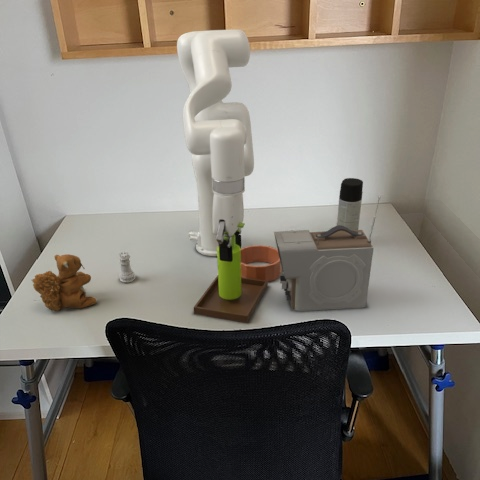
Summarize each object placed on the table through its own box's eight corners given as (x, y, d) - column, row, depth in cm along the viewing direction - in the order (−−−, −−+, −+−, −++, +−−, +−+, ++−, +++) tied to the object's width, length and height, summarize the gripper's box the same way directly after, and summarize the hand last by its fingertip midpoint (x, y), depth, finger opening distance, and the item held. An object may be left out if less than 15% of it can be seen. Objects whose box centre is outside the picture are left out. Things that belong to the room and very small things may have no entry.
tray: (194, 313, 136) (193, 307, 134) (219, 279, 150) (218, 273, 149) (247, 322, 132) (247, 316, 130) (267, 287, 146) (267, 280, 145)
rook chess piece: (122, 284, 149) (118, 259, 144) (117, 278, 152) (113, 252, 147) (137, 280, 150) (134, 255, 146) (132, 274, 154) (128, 249, 149)
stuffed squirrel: (100, 303, 141) (91, 258, 133) (46, 320, 134) (34, 274, 127) (87, 287, 148) (78, 244, 140) (35, 303, 141) (23, 258, 134)
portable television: (272, 291, 144) (274, 182, 127) (359, 286, 145) (372, 178, 129) (278, 315, 134) (281, 201, 117) (371, 310, 135) (387, 196, 119)
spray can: (359, 241, 169) (366, 179, 158) (353, 249, 164) (360, 186, 153) (338, 237, 171) (344, 176, 160) (332, 246, 166) (337, 183, 155)
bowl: (228, 279, 150) (228, 263, 147) (243, 258, 161) (243, 242, 158) (274, 285, 146) (275, 269, 144) (286, 263, 157) (287, 248, 154)
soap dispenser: (242, 300, 137) (241, 228, 126) (216, 298, 138) (213, 226, 127) (247, 289, 142) (246, 218, 131) (221, 287, 143) (218, 216, 132)
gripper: (225, 171, 131) (228, 238, 141) (199, 196, 118) (203, 268, 128) (255, 174, 129) (255, 242, 139) (231, 199, 116) (233, 272, 126)
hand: (230, 254), depth 133 cm, fingers closed on soap dispenser, 5 cm apart
